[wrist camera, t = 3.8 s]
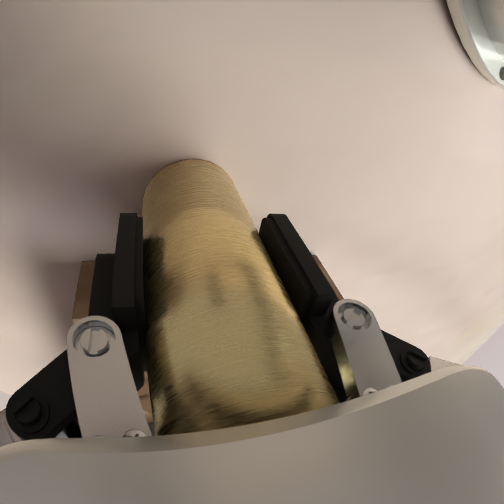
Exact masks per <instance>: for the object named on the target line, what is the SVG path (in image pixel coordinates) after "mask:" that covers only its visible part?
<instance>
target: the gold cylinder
mask: <svg viewBox="0 0 504 504" xmlns="http://www.w3.org/2000/svg"><path fill="white" fill-rule="evenodd" d="M142 217H143V269H144V301H145V321H146V338H145V351H146V363H147V374H148V384H149V393H150V402H151V410H152V417H153V424H154V431H155V436H160V435H173V434H184V433H193V432H202V431H210V430H217V429H224V428H230V427H236V426H242V425H248V424H254V423H259V422H264V421H269V420H274V419H279V418H284V417H288V416H292V415H297V414H301V413H305V412H309V411H313V410H317V409H321V408H324V407H328V406H332V405H335V404H339V403H340V402H339V400H338V398H337V396H336V394H335V392H334V390H333V387H332V385H331V383H330V381H329V379H328V377H327V375H326V373H325V370H324V368H323V366H322V364H321V362H320V360H319V358H318V356H317V354H316V351H315V349H314V347H313V345H312V343H311V341H310V339H309V337H308V335H307V333H306V330H305V328H304V326H303V324H302V322H301V320H300V318H299V316H298V314H297V312H296V310H295V308H294V306H293V303H292V301H291V299H290V297H289V295H288V293H287V291H286V289H285V287H284V285H283V283H282V281H281V279H280V277H279V275H278V272H277V270H276V268H275V266H274V264H273V262H272V260H271V258H270V256H269V254H268V252H267V250H266V248H265V246H264V244H263V242H262V240H261V238H260V236H259V234H258V232H257V230H256V228H255V226H254V223H253V221H252V219H251V217H250V215H249V213H248V211H247V209H246V207H245V205H244V203H243V201H242V199H241V197H240V195H239V193H238V191H237V189H236V187H235V185H234V183H233V181H232V179H231V178H230V176H229V175H228V174H227V173H226V172H225V171H224V170H223V169H222V168H220V167H219V166H217V165H215V164H213V163H211V162H208V161H204V160H198V159H188V160H181V161H178V162H175V163H172V164H170V165H168V166H166V167H164V168H163V169H161V170H160V171H159V172H158V173H157V174H156V175H155V176H154V177H153V178H152V179H151V181H150V182H149V184H148V185H147V187H146V190H145V193H144V197H143V211H142Z"/></svg>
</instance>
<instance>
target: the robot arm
mask: <svg viewBox="0 0 504 504" xmlns="http://www.w3.org/2000/svg"><path fill="white" fill-rule="evenodd" d="M446 1H447V5H448V8H449V11H450V14H451V17H452V20H453V23H454V26H455V28H456V30H457V33H458V35H459V37H460V40H461V42H462V44H463V46H464V48H465V50H466V52H467V53H468V55H469V57H470V59H471V61H472V62H473V64H474V65H475V66H476V67H477V69H478V70H479V71H480V73H481V74H482V75H483V76H484V77H486V78H487V79H488V80H489V81H490V82H492V83H494V84H496V85H498V86H499V87H502V88H504V0H446ZM259 236H260V238H261V240H262V242H263V244H264V246H265V248H266V250H267V252H268V254H269V256H270V258H271V260H272V262H273V264H274V266H275V268H276V270H277V272H278V275H279V277H280V279H281V281H282V283H283V285H284V287H285V289H286V291H287V293H288V295H289V297H290V299H291V301H292V303H293V306H294V308H295V310H296V312H297V314H298V316H299V318H300V320H301V322H302V324H303V326H304V328H305V330H306V333H307V335H308V337H309V339H310V341H311V343H312V345H313V347H314V349H315V351H316V354H317V356H318V358H319V360H320V362H321V364H322V366H323V368H324V370H325V373H326V375H327V377H328V379H329V381H330V383H331V385H332V387H333V390H334V392H335V394H336V396H337V398H338V400H339V402H340V403H339V404H335V405H332V406H328V407H324V408H321V409H317V410H313V411H309V412H305V413H301V414H297V415H292V416H288V417H284V418H279V419H274V420H269V421H264V422H259V423H254V424H248V425H242V426H236V427H230V428H224V429H217V430H210V431H202V432H193V433H184V434H173V435H160V436H152V434H151V432H150V429H149V426H148V423H147V420H146V417H145V414H144V411H143V408H142V405H141V402H140V399H139V396H138V393H137V392H138V391H139V390H140V389H141V388H142V387H143V386H144V382H145V376H144V372H147V363H146V351H145V338H146V321H145V301H144V269H143V217H137V213H120V218H119V226H118V234H117V242H116V251H115V254H97V256H96V261H95V267H94V274H93V280H92V288H91V296H90V304H89V313H88V317H85V318H82V319H80V320H79V321H77V322H75V323H74V324H73V326H72V327H71V328H70V329H69V332H68V334H67V341H66V344H67V350H65V351H64V352H63V353H62V354H60V355H59V356H58V357H57V358H56V359H54V360H53V361H52V362H51V363H49V364H48V365H47V366H46V367H45V368H43V369H42V370H41V371H40V372H39V373H37V374H36V375H35V376H34V377H33V378H31V379H30V380H29V381H28V382H27V383H26V384H24V385H23V386H22V387H21V388H20V389H19V390H17V391H16V392H15V393H14V394H13V395H12V396H11V398H10V399H9V401H8V403H7V406H6V408H5V409H4V410H2V411H0V504H504V388H503V387H502V386H501V384H500V383H499V382H498V380H496V378H495V377H494V376H493V375H492V374H491V373H490V372H488V371H487V370H484V369H482V368H478V367H472V366H463V365H459V364H456V363H452V362H449V361H445V360H441V359H438V358H434V357H431V356H430V357H429V358H428V357H427V356H426V354H425V353H424V352H423V351H422V350H420V349H419V348H417V347H415V346H413V345H411V344H409V343H407V342H405V341H403V340H401V339H399V338H397V337H395V336H393V335H391V334H389V333H386V332H384V331H382V330H381V329H380V327H379V325H378V322H377V320H376V318H375V316H374V314H373V312H372V311H371V310H370V309H369V308H368V307H367V306H366V305H364V304H363V303H361V302H359V301H356V300H352V299H342V300H340V301H339V299H338V297H337V296H336V293H335V292H334V290H333V288H332V287H331V285H330V283H329V282H328V280H327V279H326V277H325V275H324V274H323V272H322V271H321V269H320V267H319V266H318V264H317V263H316V261H315V259H314V258H313V256H312V255H311V253H310V252H309V250H308V248H307V247H306V245H305V244H304V242H303V241H302V239H301V237H300V236H299V234H298V233H297V231H296V230H295V228H294V227H293V225H292V224H291V222H290V221H289V219H288V217H287V216H286V215H285V214H269V215H268V216H267V218H263V219H262V222H261V226H260V230H259Z"/></svg>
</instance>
